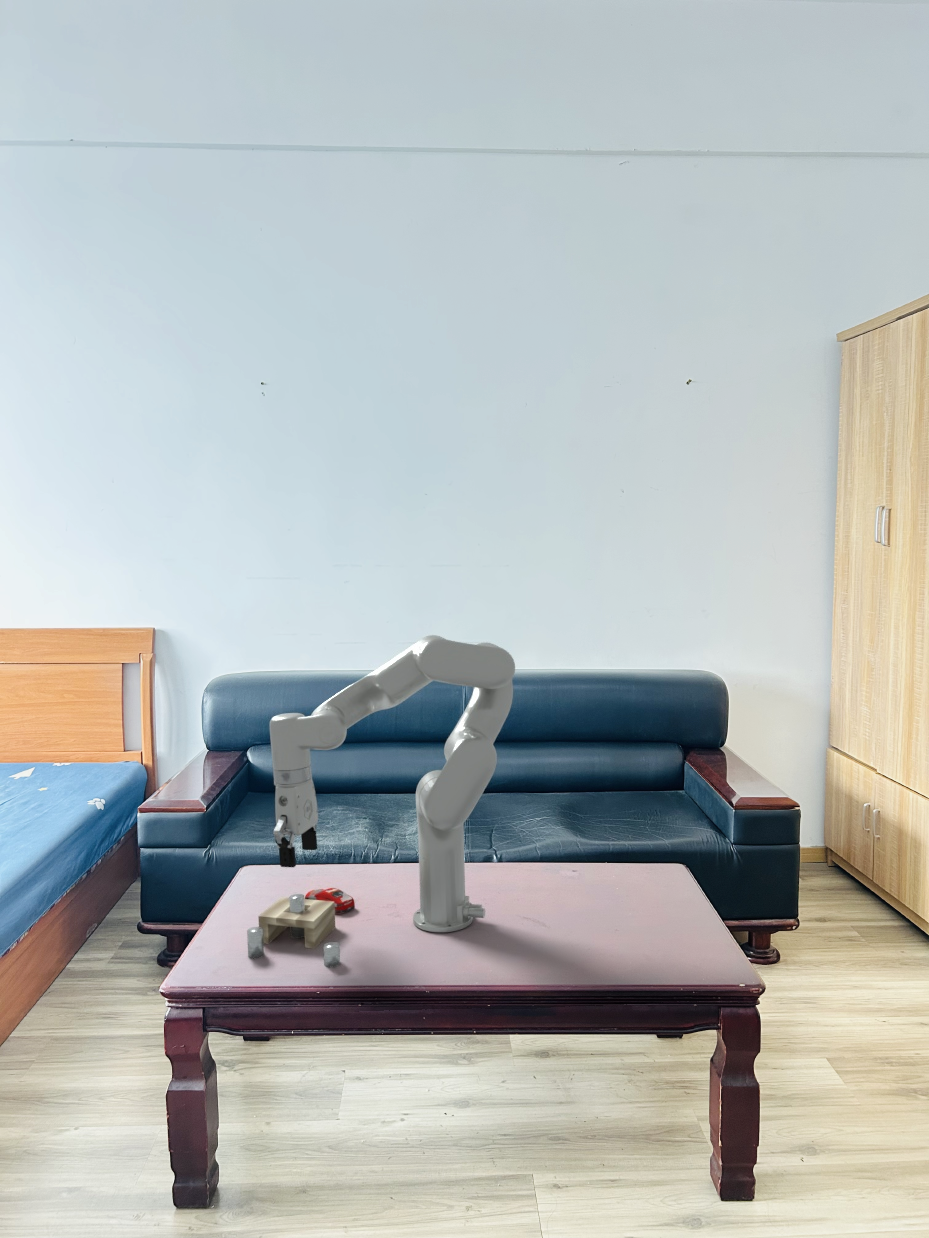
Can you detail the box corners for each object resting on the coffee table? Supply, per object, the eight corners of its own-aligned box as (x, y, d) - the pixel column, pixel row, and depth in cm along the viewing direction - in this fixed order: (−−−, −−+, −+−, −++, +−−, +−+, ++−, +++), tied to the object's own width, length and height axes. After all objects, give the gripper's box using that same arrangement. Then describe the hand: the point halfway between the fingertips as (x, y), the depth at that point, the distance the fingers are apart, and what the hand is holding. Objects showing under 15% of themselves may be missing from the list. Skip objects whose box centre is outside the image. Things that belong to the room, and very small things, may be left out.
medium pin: (266, 952, 169) (265, 927, 169) (259, 959, 166) (258, 933, 166) (253, 950, 170) (251, 926, 170) (245, 957, 167) (244, 932, 167)
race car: (300, 904, 193) (299, 886, 193) (319, 896, 198) (318, 879, 197) (339, 918, 185) (338, 900, 185) (358, 910, 189) (357, 892, 189)
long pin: (308, 932, 178) (306, 894, 177) (301, 938, 175) (300, 900, 174) (294, 931, 179) (293, 893, 178) (288, 937, 176) (286, 898, 175)
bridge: (335, 927, 180) (334, 901, 179) (314, 948, 170) (313, 921, 170) (282, 922, 183) (281, 896, 183) (259, 942, 173) (258, 915, 173)
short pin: (342, 960, 165) (342, 942, 165) (336, 967, 162) (335, 949, 162) (328, 959, 166) (327, 941, 165) (321, 966, 163) (320, 948, 163)
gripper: (289, 787, 165) (296, 874, 166) (327, 764, 182) (333, 843, 183) (254, 786, 167) (261, 873, 168) (295, 764, 184) (301, 842, 185)
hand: (299, 857), depth 176 cm, fingers open, 9 cm apart
